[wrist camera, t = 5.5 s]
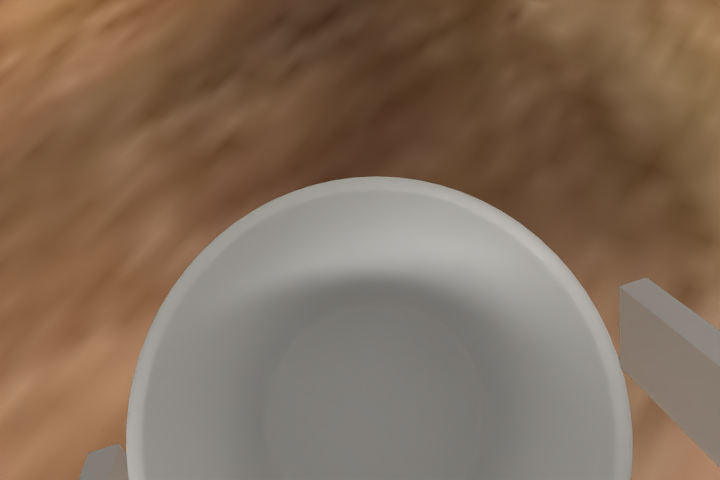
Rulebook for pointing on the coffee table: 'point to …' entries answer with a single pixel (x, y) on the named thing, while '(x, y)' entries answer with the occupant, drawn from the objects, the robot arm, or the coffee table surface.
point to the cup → (378, 349)
